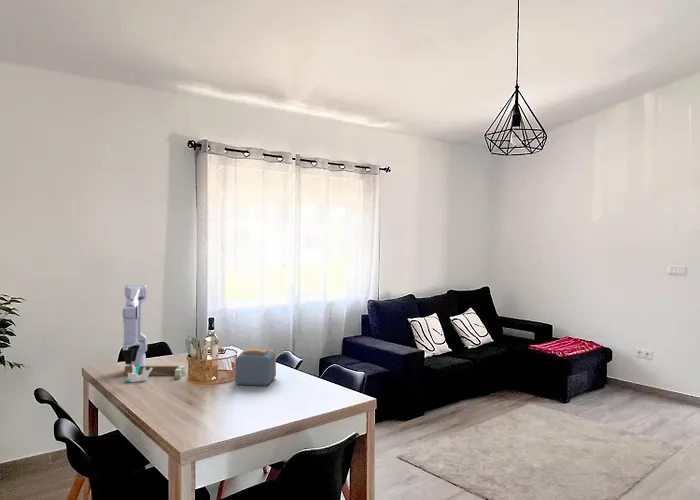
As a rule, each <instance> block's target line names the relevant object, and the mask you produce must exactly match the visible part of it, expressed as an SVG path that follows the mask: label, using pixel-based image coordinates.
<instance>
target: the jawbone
mask: <svg viewBox="0 0 700 500" xmlns="http://www.w3.org/2000/svg"><path fill="white" fill-rule="evenodd" d="M140 366H141V364H138V366H137V367H135V366H134V364H133V365H132V373H128V375H127V378H126V381H127V382H130V383H139V382H146V381H147V379H148V378H149V376H150V375H149V373H150V372H151V370H152V369H153V368H150V369H149V370H147V371H146V369H145V367H144V368H143V372H142V374H141V375H138V370H139V368H140Z"/></svg>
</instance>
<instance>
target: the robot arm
mask: <svg viewBox="0 0 700 500" xmlns="http://www.w3.org/2000/svg"><path fill="white" fill-rule="evenodd" d="M124 297H125V299H126V301H125V306H124V307H123V308H122V321H123V322H122V323H123V343H122V348H121V349H120V352H121V353H122V355H123V358H124V362H125V365H128V366H132V365H133V364H134V366H138V364H141V366H147V361H146V360H147V357H146V352H147V351H148V338H147V335H145V334H143V333H142V304H143V301H146V300H147V285H146V284H125V286H124Z"/></svg>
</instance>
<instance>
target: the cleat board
mask: <svg viewBox="0 0 700 500" xmlns="http://www.w3.org/2000/svg"><path fill="white" fill-rule="evenodd" d="M135 367H137V366H135ZM144 367H145V369H146V371H147V370H149V369H150V368H153V369H152V370H151V372H150V373H149V375H148V376H161V375H162V376H174V379H175V380H176V379H177V380H180V379H182V378H183V377H184V376H185V374H186V365H146V366H140V368H139V370H138V375H141V374H142V372H143V368H144ZM128 373H132V366H129V365H125V366H124V376H128Z"/></svg>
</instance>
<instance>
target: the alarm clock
mask: <svg viewBox="0 0 700 500" xmlns="http://www.w3.org/2000/svg"><path fill="white" fill-rule="evenodd" d="M276 353H277V352H276V351H275V350H274V349H271V348H270V349H269V348H263V347H262V348H261V347H252V348H251V347H250V348H245V349H244V350H242V351H241V353H240V354H239V355H238V356H237V357H236V358H235V369H234V370H235V373H234V374H235V375H234V382H235V385H239V386H260V387H266V386H269V384H270V383H271V382H273V380H274V379H275V378H276V376H277V362H276V361H277V356H276V355H277V354H276Z"/></svg>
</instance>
